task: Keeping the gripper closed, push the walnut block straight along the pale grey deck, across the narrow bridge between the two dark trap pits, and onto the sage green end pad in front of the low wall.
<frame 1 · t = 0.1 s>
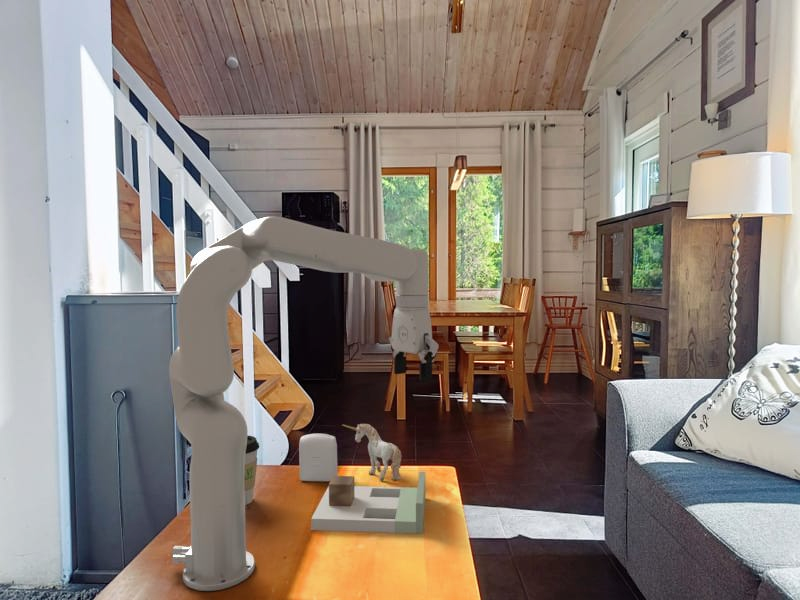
hand: (412, 376, 122), 31 cm above the table, tool pointing down, fingers open, 9 cm apart
coffee cup: (239, 502, 128), on the table
unicorn figurine: (371, 478, 142), on the table
photo printer: (318, 480, 141), on the table
walnut block: (342, 501, 122), point 2 cm above the table, touching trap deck
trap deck: (372, 512, 121), on the table
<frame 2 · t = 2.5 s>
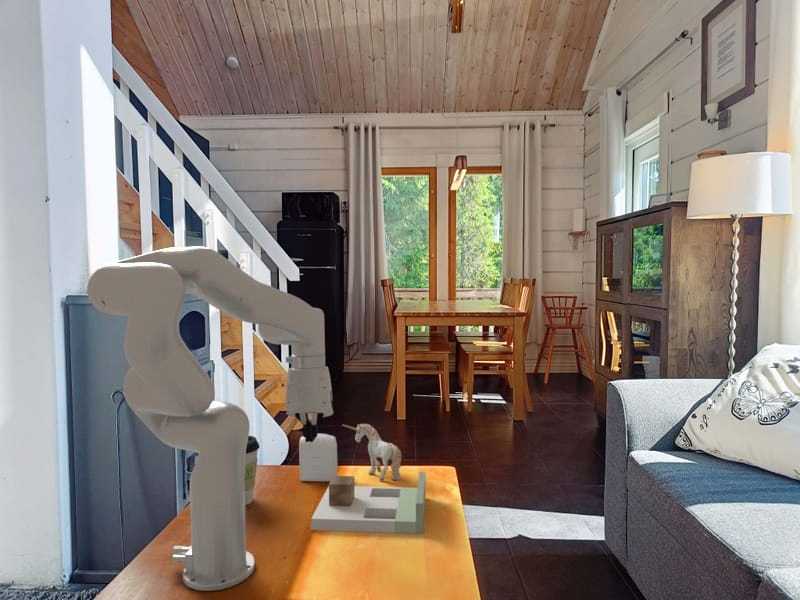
hand: (310, 440, 122), 17 cm above the table, tool pointing down, fingers closed
nothing on the table moved.
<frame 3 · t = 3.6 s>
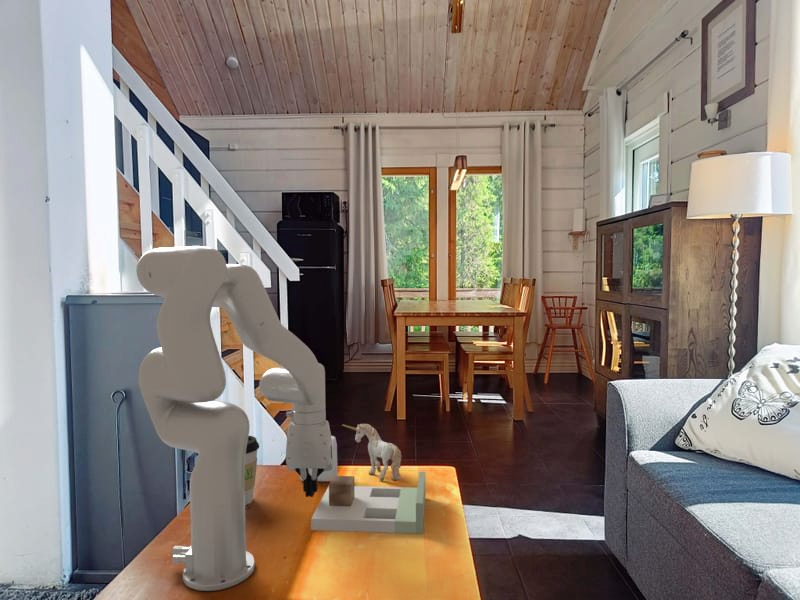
hand: (310, 494, 122), 4 cm above the table, tool pointing down, fingers closed
nothing on the table moved.
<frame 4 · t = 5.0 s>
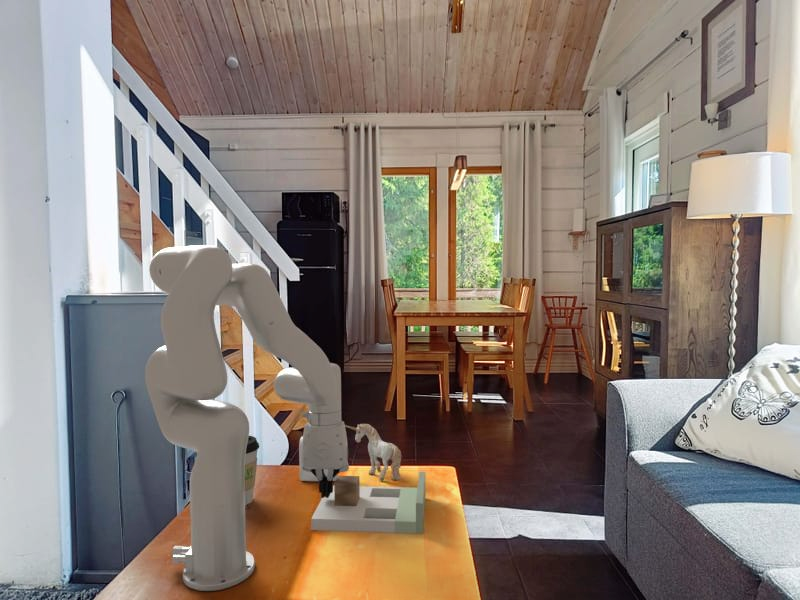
hand: (326, 495, 122), 4 cm above the table, tool pointing down, fingers closed
walnut block: (347, 501, 122), point 3 cm above the table, touching gripper
everything else where it was.
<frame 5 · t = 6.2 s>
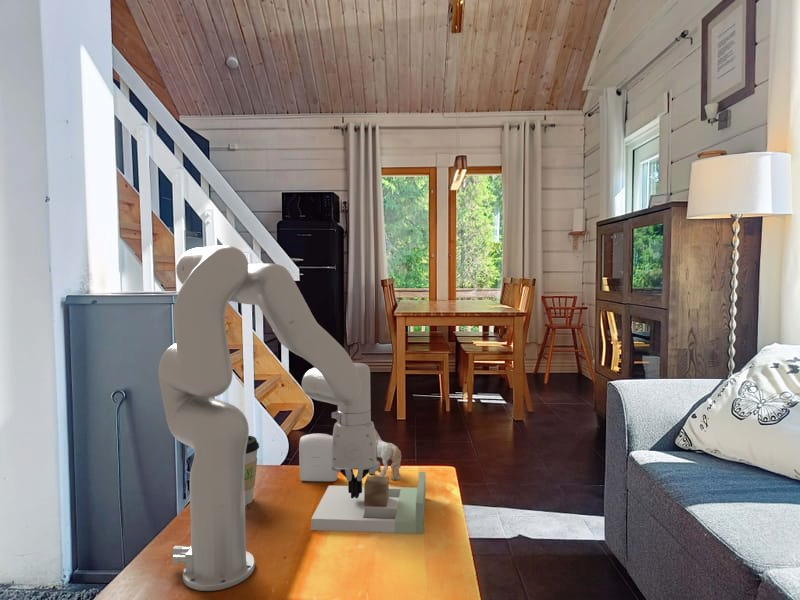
hand: (355, 495, 122), 4 cm above the table, tool pointing down, fingers closed
walnut block: (376, 501, 121), point 2 cm above the table, touching gripper, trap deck
everything else where it was.
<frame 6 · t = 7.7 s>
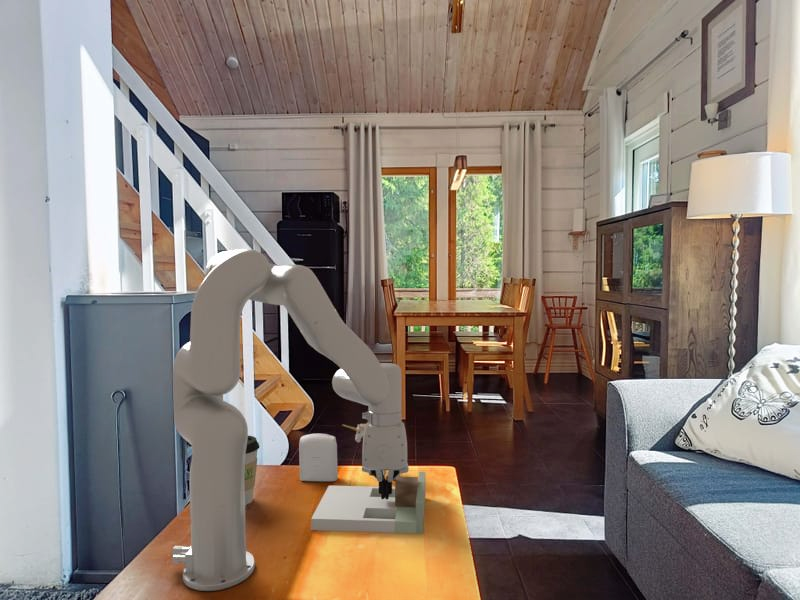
hand: (385, 496, 121), 4 cm above the table, tool pointing down, fingers closed
walnut block: (406, 502, 121), point 2 cm above the table, touching gripper, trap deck
everything else where it was.
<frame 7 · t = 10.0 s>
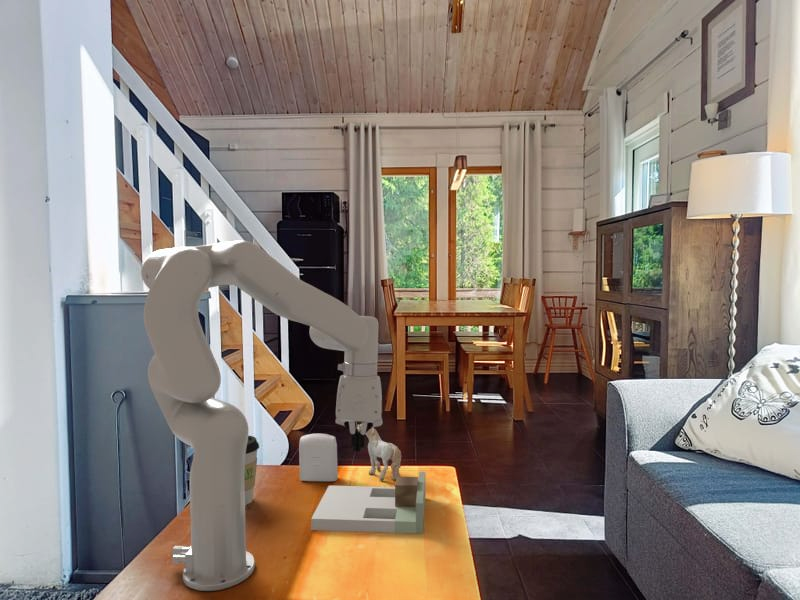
hand: (358, 450, 120), 15 cm above the table, tool pointing down, fingers closed
walnut block: (406, 502, 121), point 2 cm above the table, touching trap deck
everything else where it was.
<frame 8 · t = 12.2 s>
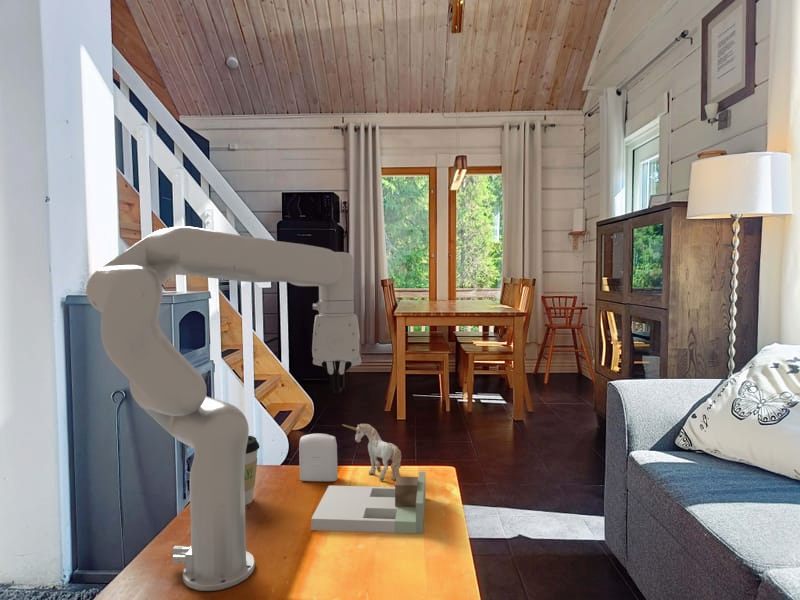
hand: (337, 391, 116), 29 cm above the table, tool pointing down, fingers closed
nothing on the table moved.
at the end: walnut block 0.6 cm from the target spot on the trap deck, point 2.5 cm above the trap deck's base; walnut block tilted 0°; walnut block moved 15.0 cm from its start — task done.
